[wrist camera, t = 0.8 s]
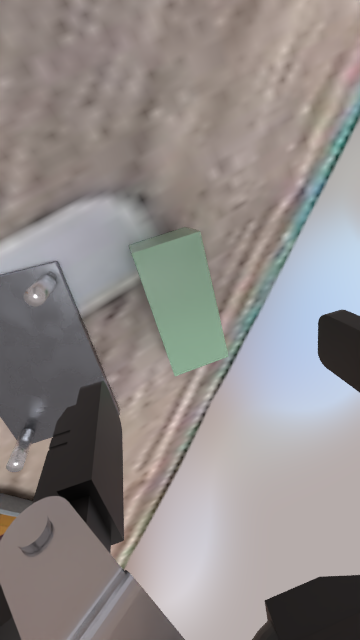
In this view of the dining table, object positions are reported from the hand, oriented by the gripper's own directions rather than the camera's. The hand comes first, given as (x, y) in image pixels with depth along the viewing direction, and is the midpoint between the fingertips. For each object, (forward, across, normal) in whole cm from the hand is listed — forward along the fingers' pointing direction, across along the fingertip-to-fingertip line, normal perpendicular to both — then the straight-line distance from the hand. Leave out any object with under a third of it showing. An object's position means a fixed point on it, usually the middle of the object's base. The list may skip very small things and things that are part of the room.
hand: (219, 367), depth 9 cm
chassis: (+18, +14, +6) cm, 23 cm away
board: (+18, -1, +3) cm, 18 cm away
